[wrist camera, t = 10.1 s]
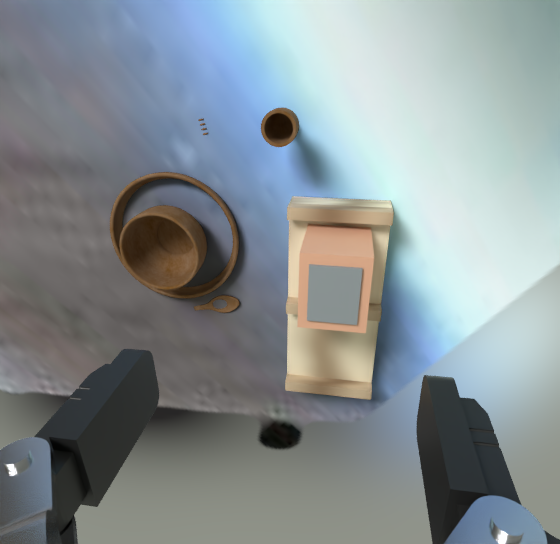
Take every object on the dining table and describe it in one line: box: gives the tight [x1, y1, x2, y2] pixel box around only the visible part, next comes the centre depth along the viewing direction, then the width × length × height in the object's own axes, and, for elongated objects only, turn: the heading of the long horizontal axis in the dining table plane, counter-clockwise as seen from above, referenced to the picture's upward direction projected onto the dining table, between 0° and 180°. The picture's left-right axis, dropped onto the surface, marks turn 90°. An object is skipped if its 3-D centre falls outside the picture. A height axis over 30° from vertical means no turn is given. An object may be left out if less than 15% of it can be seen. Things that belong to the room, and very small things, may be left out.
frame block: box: [297, 224, 374, 333], centre depth 33 cm, size 5×6×6 cm
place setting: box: [110, 108, 299, 313], centre depth 36 cm, size 18×20×6 cm
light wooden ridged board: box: [285, 196, 394, 400], centre depth 38 cm, size 8×18×3 cm, turn 0°
